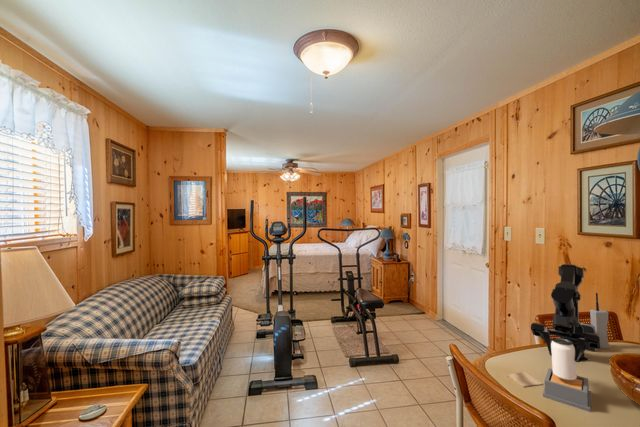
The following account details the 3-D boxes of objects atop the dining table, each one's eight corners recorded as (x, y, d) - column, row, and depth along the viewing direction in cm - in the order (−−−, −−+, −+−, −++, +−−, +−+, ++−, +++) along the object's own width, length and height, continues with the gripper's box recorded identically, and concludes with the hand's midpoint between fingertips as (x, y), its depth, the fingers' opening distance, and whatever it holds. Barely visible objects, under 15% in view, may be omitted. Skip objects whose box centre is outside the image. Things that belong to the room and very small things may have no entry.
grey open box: (547, 381, 108) (546, 366, 108) (591, 394, 99) (590, 378, 99) (542, 396, 99) (542, 380, 99) (590, 412, 91) (589, 394, 91)
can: (548, 370, 103) (545, 337, 103) (566, 370, 103) (564, 336, 103) (562, 381, 97) (560, 345, 97) (582, 380, 97) (579, 345, 97)
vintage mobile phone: (610, 348, 130) (607, 294, 131) (597, 348, 131) (594, 293, 132) (604, 345, 134) (601, 291, 134) (591, 344, 135) (588, 291, 135)
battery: (597, 349, 130) (595, 324, 130) (595, 352, 128) (594, 326, 128) (577, 344, 136) (575, 320, 136) (575, 347, 133) (573, 322, 133)
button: (553, 378, 105) (553, 372, 105) (582, 387, 99) (582, 380, 99) (550, 388, 99) (550, 381, 99) (581, 398, 94) (581, 390, 94)
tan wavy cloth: (524, 373, 114) (524, 372, 114) (542, 384, 106) (542, 383, 106) (506, 375, 113) (506, 374, 113) (523, 387, 105) (523, 386, 105)
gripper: (530, 301, 110) (525, 339, 102) (598, 311, 96) (599, 356, 88) (535, 315, 115) (531, 353, 107) (600, 327, 102) (601, 371, 94)
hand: (562, 358), depth 99 cm, fingers closed on can, 6 cm apart
